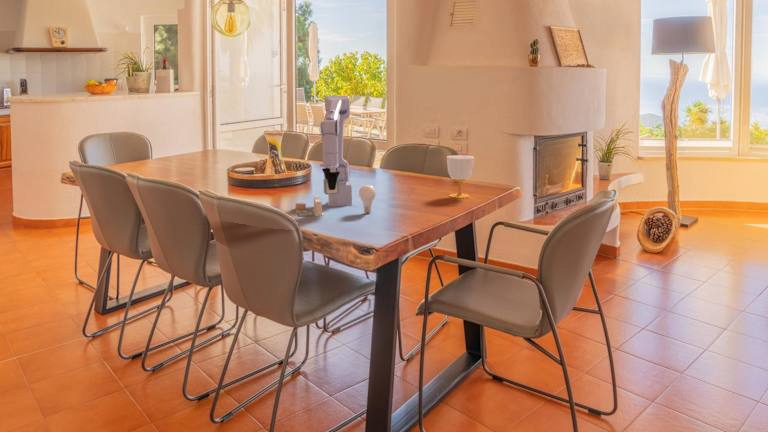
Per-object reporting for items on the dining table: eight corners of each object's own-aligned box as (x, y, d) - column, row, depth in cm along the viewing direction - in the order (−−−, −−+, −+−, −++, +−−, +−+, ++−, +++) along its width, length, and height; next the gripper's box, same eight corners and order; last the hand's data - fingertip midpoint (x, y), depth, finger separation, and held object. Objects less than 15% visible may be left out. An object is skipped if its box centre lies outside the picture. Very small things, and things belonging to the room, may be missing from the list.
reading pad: (311, 213, 243) (311, 211, 243) (312, 216, 237) (312, 215, 237) (298, 213, 242) (298, 212, 242) (299, 217, 236) (299, 215, 236)
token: (305, 208, 251) (305, 203, 250) (305, 210, 247) (305, 205, 246) (295, 208, 250) (295, 203, 250) (295, 210, 246) (295, 205, 246)
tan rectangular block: (320, 210, 248) (320, 197, 247) (323, 216, 237) (323, 203, 236) (312, 210, 248) (312, 197, 247) (315, 216, 237) (315, 203, 236)
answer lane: (305, 207, 252) (305, 207, 252) (307, 213, 243) (307, 212, 243) (294, 208, 251) (294, 207, 251) (296, 213, 242) (296, 213, 242)
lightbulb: (362, 215, 238) (362, 187, 236) (356, 212, 244) (356, 184, 242) (378, 214, 241) (378, 185, 238) (372, 211, 246) (371, 183, 244)
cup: (443, 193, 280) (444, 155, 276) (469, 193, 282) (470, 155, 278) (448, 199, 269) (449, 159, 265) (476, 198, 270) (477, 158, 266)
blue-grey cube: (336, 191, 243) (336, 178, 242) (338, 193, 238) (338, 180, 237) (323, 192, 242) (323, 179, 241) (325, 194, 237) (325, 180, 236)
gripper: (317, 150, 243) (318, 185, 246) (321, 155, 229) (322, 192, 232) (335, 149, 244) (336, 184, 247) (341, 154, 230) (341, 191, 233)
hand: (331, 188), depth 239 cm, fingers closed on blue-grey cube, 5 cm apart
